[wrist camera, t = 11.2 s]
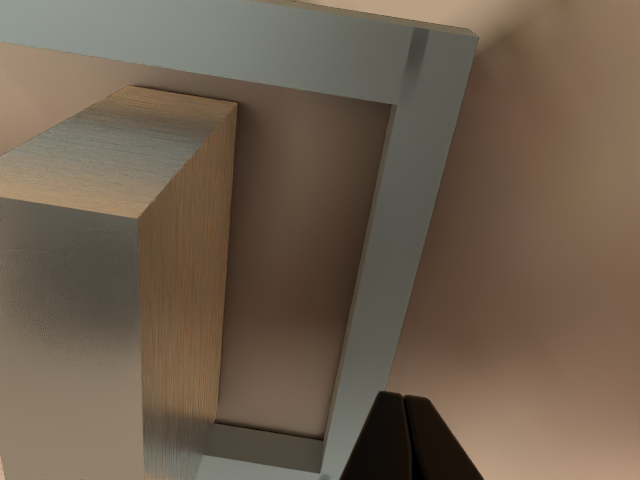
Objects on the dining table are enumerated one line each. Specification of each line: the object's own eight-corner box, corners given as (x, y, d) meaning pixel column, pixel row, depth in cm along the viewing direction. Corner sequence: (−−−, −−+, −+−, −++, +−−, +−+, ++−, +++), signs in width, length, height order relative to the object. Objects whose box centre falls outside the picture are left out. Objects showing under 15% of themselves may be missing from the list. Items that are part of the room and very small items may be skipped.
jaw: (237, 102, 10) (137, 218, 5) (217, 413, 13) (147, 624, 9) (127, 85, 10) (-58, 187, 5) (137, 400, 13) (32, 605, 9)
